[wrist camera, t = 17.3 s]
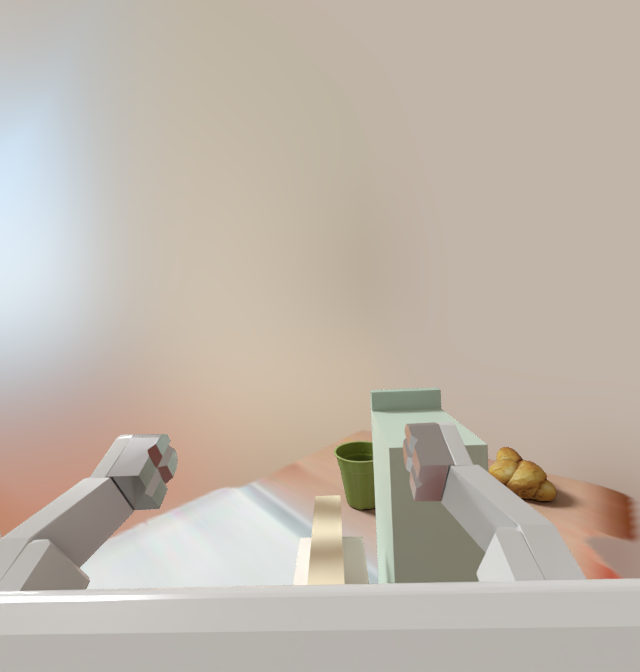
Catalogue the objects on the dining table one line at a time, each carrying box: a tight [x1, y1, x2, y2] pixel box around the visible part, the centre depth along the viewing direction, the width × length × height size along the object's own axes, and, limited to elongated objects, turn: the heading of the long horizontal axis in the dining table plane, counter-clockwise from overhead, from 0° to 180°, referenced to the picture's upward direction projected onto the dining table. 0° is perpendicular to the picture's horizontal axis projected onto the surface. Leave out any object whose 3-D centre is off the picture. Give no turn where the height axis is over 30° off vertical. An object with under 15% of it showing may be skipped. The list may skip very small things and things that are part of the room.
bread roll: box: [489, 447, 557, 501], centre depth 69 cm, size 13×10×8 cm
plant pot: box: [334, 441, 375, 510], centre depth 69 cm, size 12×12×11 cm
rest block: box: [293, 537, 369, 585], centre depth 30 cm, size 12×7×15 cm, turn 178°
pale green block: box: [370, 388, 488, 584], centre depth 37 cm, size 14×9×30 cm, turn 178°
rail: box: [307, 495, 345, 585], centre depth 29 cm, size 20×3×3 cm, turn 178°
